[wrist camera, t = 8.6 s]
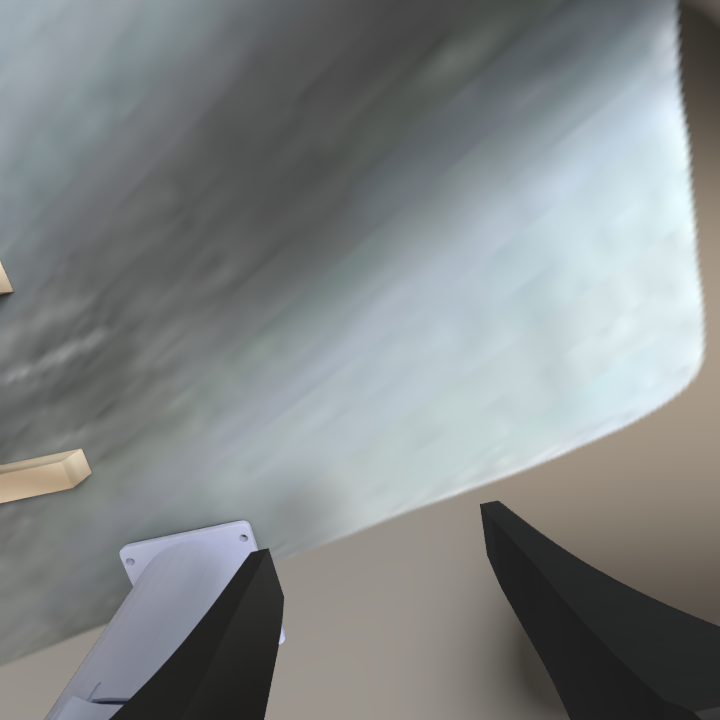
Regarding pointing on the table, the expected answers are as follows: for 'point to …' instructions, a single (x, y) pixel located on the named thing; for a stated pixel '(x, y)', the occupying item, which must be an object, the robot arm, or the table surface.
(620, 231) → the table surface
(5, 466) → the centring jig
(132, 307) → the table surface
